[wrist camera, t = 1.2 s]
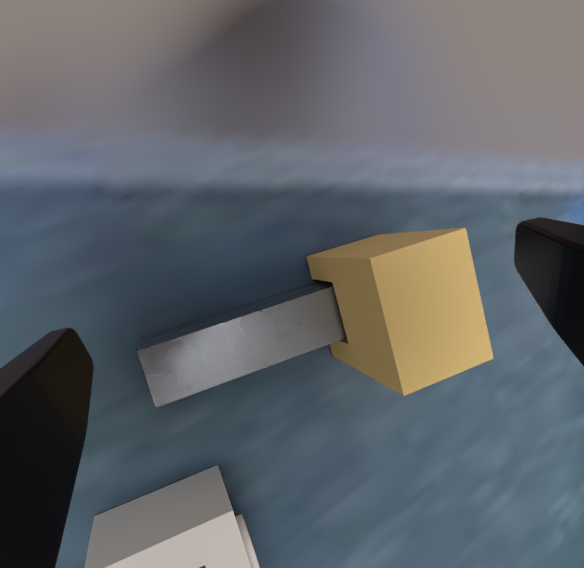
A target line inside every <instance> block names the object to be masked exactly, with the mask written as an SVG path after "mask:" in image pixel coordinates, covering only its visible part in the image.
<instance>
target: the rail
mask: <svg viewBox="0 0 584 568" xmlns="http://www.w3.org/2000/svg"><path fill="white" fill-rule="evenodd" d="M345 338H347V336H346V332H345V329H344V325H343V321H342V317H341V313H340V309H339V306H338V302H337V298H336V294H335V290H334V287H333V283H332V282H328V281H322V280H321V281H318V282H315V283H312V284H309V285H306V286H303V287H300V288H297V289H294V290H291V291H288V292H284V293H281V294H278V295H275V296H272V297H269V298H266V299H263V300H260V301H257V302H254V303H251V304H248V305H244V306H241V307H238V308H235V309H232V310H229V311H226V312H223V313H220V314H217V315H214V316H211V317H208V318H204V319H201V320H198V321H195V322H192V323H189V324H186V325H183V326H180V327H177V328H174V329H171V330H168V331H164V332H161V333H158V334H155V335H152V336H149V337H146V338H143V339H140V340H138V345H137V353H138V356H139V359H140V362H141V365H142V368H143V371H144V374H145V377H146V380H147V383H148V386H149V389H150V392H151V395H152V398H153V401H154V404H155V407H156V408H157V407H160V406H163V405H165V404H168V403H171V402H173V401H176V400H179V399H182V398H184V397H187V396H190V395H192V394H195V393H198V392H201V391H203V390H206V389H209V388H211V387H214V386H217V385H220V384H222V383H225V382H228V381H231V380H233V379H236V378H239V377H241V376H244V375H247V374H250V373H252V372H255V371H258V370H260V369H263V368H266V367H269V366H271V365H274V364H277V363H279V362H282V361H285V360H288V359H290V358H293V357H296V356H299V355H301V354H304V353H307V352H309V351H312V350H315V349H318V348H320V347H323V346H326V345H328V344H331V343H334V342H337V341H339V340H342V339H345Z"/></svg>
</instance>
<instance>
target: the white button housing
mask: <svg viewBox="0 0 584 568" xmlns="http://www.w3.org/2000/svg"><path fill="white" fill-rule="evenodd" d="M84 568H260V567H259V564H258V561H257V557H256V554H255V551H254V548H253V545H252V542H251V539H250V536H249V533H248V530H247V527H246V524H245V521H244V519H243V516H242V514H240V515H238V516H236V517H235V515H234V512H233V509H232V506H231V503H230V500H229V497H228V494H227V491H226V488H225V485H224V482H223V479H222V476H221V473H220V470H219V467H218V465H216V466H214V467H211V468H209V469H207V470H204V471H202V472H199V473H197V474H195V475H192V476H190V477H187V478H185V479H183V480H180V481H178V482H175V483H173V484H171V485H168V486H166V487H163V488H161V489H158V490H156V491H154V492H151V493H149V494H146V495H144V496H142V497H139V498H137V499H134V500H132V501H130V502H127V503H125V504H122V505H120V506H118V507H115V508H113V509H110V510H108V511H106V512H103V513H101V514H98V515H96V516H94V520H93V525H92V530H91V536H90V541H89V546H88V551H87V556H86V561H85V566H84Z"/></svg>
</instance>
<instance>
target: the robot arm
mask: <svg viewBox="0 0 584 568" xmlns="http://www.w3.org/2000/svg"><path fill="white" fill-rule="evenodd" d="M514 263H515V267H516V269H517V271H518V273H519V275H520V276H521V278H522V279H523V281H524V283H525V284H526V286H527V287H528V289H529V291H530V292H531V294H532V295H533V297H534V299H535V300H536V302H537V303H538V305H539V307H540V308H541V310H542V312H543V313H544V315H545V316H546V318H547V319H548V321H549V322H550V324H551V325H552V327H553V328H554V330H555V331H556V332H557V333H558V335H559V336H560V337H561V339H562V340H563V341H564V342H565V344H566V345H567V346H568V347H569V349H570V350H571V351H572V352H573V354H574V355H575V356H576V357H577V359H578V360H579V361H580V362H581V364H582V365H583V366H584V225H580V224H574V223H569V222H563V221H558V220H552V219H547V218H541V217H539V218H534V219H530V220H525V221H522V222H520V223H519V224H518V225H517V227H516V234H515V251H514ZM92 378H93V361H92V358H91V356H90V355H89V353H88V351H87V349H86V348H85V346H84V344H83V343H82V341H81V339H80V337H79V336H78V334H77V333H76V331H75V330H74V329H71V328H64V329H60V330H55V331H52V332H49V333H48V334H46V335H45V336H44V337H42V338H41V339H40V340H38V341H37V342H36V343H34V344H33V345H32V346H30V347H29V348H28V349H26V350H25V351H24V352H22V353H21V354H19V355H18V356H17V357H15V358H14V359H13V360H11V361H10V362H9V363H7V364H6V365H5V366H3V367H2V368H1V369H0V568H55V567H56V562H57V558H58V554H59V549H60V545H61V541H62V536H63V532H64V528H65V524H66V519H67V515H68V511H69V506H70V502H71V498H72V493H73V489H74V485H75V480H76V476H77V472H78V468H79V463H80V459H81V455H82V450H83V446H84V441H85V436H86V430H87V423H88V414H89V405H90V396H91V387H92Z"/></svg>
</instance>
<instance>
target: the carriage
mask: <svg viewBox="0 0 584 568" xmlns="http://www.w3.org/2000/svg"><path fill="white" fill-rule="evenodd" d="M306 258H307V262H308V266H309V269H310V273H311V277H312V279H315V280H322V281H328V282H332V283H333V287H334V290H335V294H336V298H337V302H338V306H339V309H340V313H341V317H342V321H343V325H344V329H345V332H346V336H347V338H345V339H342V340H339V341H337V342H334V343H331V344H330V348H331V351H332V355H333V357H335V358H337V359H339V360H340V361H342V362H344V363H346V364H347V365H349V366H351V367H353V368H355V369H356V370H358V371H360V372H362V373H364V374H365V375H367V376H369V377H371V378H372V379H374V380H376V381H378V382H380V383H381V384H383V385H385V386H387V387H388V388H390V389H392V390H394V391H396V392H397V393H399V394H401V395H403V396H405V395H408V394H410V393H413V392H415V391H417V390H420V389H422V388H424V387H427V386H429V385H432V384H434V383H436V382H439V381H441V380H443V379H446V378H448V377H451V376H453V375H455V374H458V373H460V372H462V371H465V370H467V369H470V368H472V367H474V366H477V365H479V364H481V363H484V362H486V361H489V360H491V359H493V354H492V349H491V344H490V340H489V335H488V330H487V326H486V321H485V316H484V311H483V307H482V302H481V297H480V293H479V288H478V283H477V279H476V274H475V269H474V264H473V260H472V255H471V250H470V246H469V241H468V236H467V232H466V228H456V229H442V230H429V231H416V232H402V233H389V234H378V235H375V236H371V237H368V238H365V239H362V240H358V241H355V242H352V243H349V244H345V245H342V246H339V247H336V248H332V249H329V250H326V251H323V252H319V253H316V254H313V255H309V256H306Z"/></svg>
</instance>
